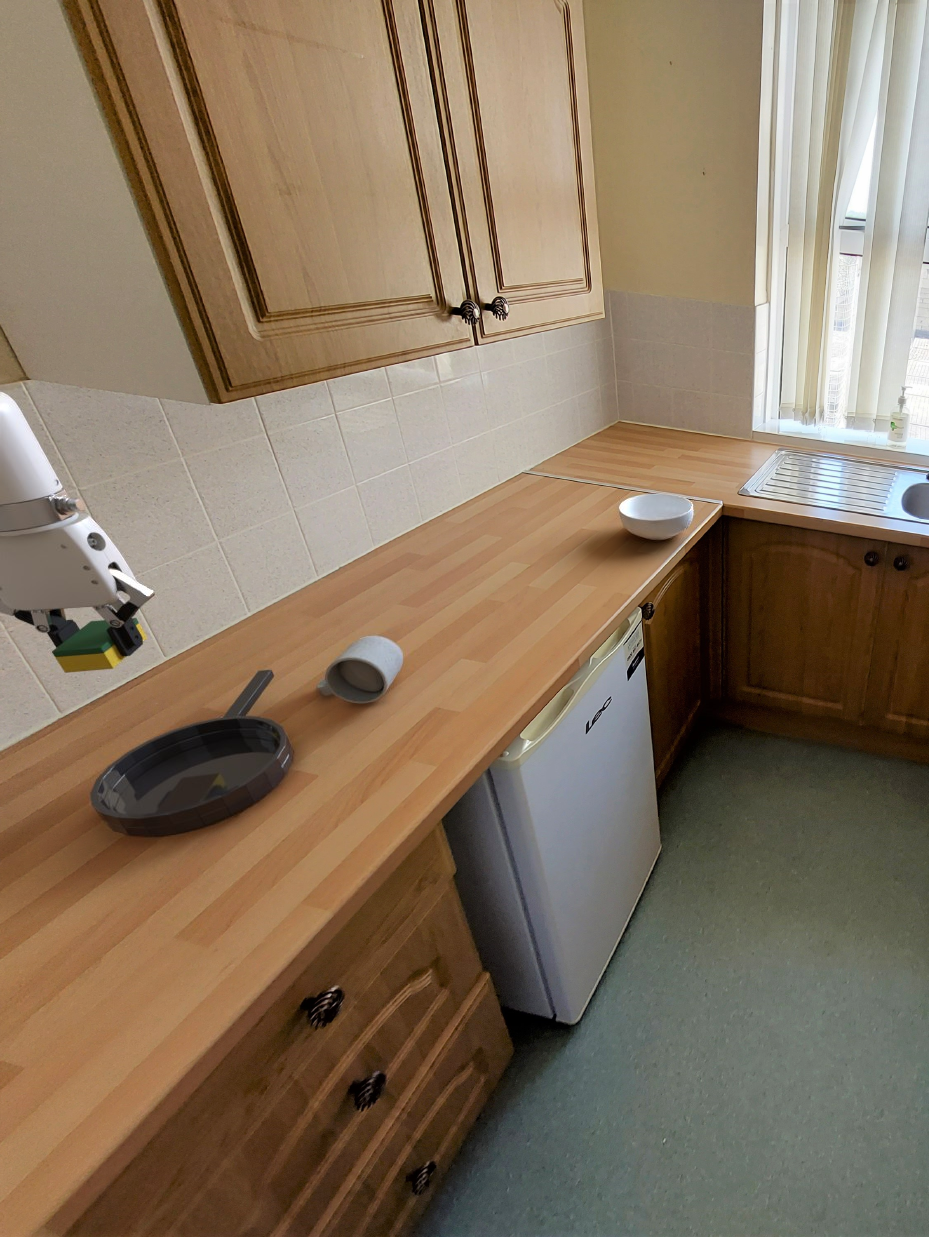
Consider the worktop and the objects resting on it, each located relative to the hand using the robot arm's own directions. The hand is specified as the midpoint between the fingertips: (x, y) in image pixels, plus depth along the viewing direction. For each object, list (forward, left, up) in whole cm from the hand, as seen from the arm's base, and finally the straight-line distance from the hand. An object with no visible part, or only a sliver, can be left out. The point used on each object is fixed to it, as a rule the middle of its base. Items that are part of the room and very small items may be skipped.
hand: (105, 651), depth 78 cm
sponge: (0, 0, -1) cm, 1 cm away
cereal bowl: (+69, +59, -13) cm, 91 cm away
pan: (+11, -12, -13) cm, 20 cm away
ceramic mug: (+23, +5, -13) cm, 27 cm away
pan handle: (+11, +2, -11) cm, 15 cm away
